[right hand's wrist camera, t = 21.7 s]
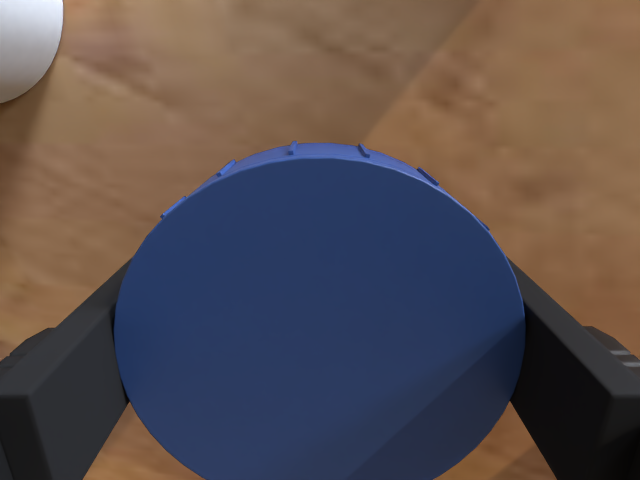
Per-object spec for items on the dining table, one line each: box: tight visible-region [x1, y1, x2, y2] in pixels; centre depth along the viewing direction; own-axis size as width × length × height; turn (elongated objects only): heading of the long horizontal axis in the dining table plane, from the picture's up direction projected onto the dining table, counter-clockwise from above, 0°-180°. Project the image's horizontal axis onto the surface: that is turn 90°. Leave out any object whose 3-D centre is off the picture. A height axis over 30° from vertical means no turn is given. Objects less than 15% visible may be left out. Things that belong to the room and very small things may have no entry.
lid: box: [113, 141, 526, 480], centre depth 11 cm, size 10×10×2 cm
